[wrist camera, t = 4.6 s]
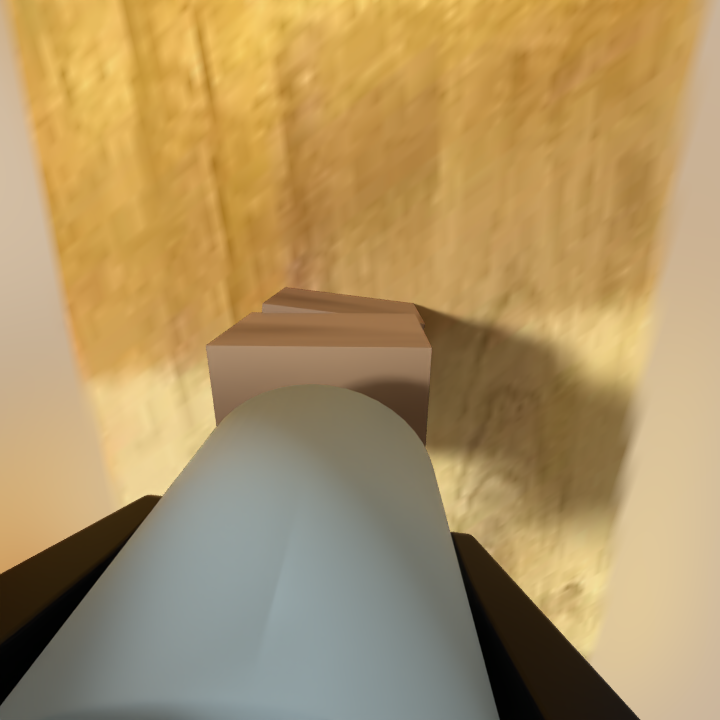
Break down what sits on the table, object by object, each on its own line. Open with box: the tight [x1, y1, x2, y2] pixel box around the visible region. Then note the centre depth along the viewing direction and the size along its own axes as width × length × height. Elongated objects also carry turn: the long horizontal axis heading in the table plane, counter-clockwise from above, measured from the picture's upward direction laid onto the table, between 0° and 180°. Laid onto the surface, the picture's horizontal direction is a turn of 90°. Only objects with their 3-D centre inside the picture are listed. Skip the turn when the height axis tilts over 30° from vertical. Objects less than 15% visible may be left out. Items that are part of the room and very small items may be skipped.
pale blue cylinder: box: [0, 384, 499, 720], centre depth 5 cm, size 5×5×5 cm
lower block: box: [262, 287, 425, 331], centre depth 14 cm, size 5×5×4 cm
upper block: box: [206, 312, 432, 446], centre depth 11 cm, size 5×5×4 cm
